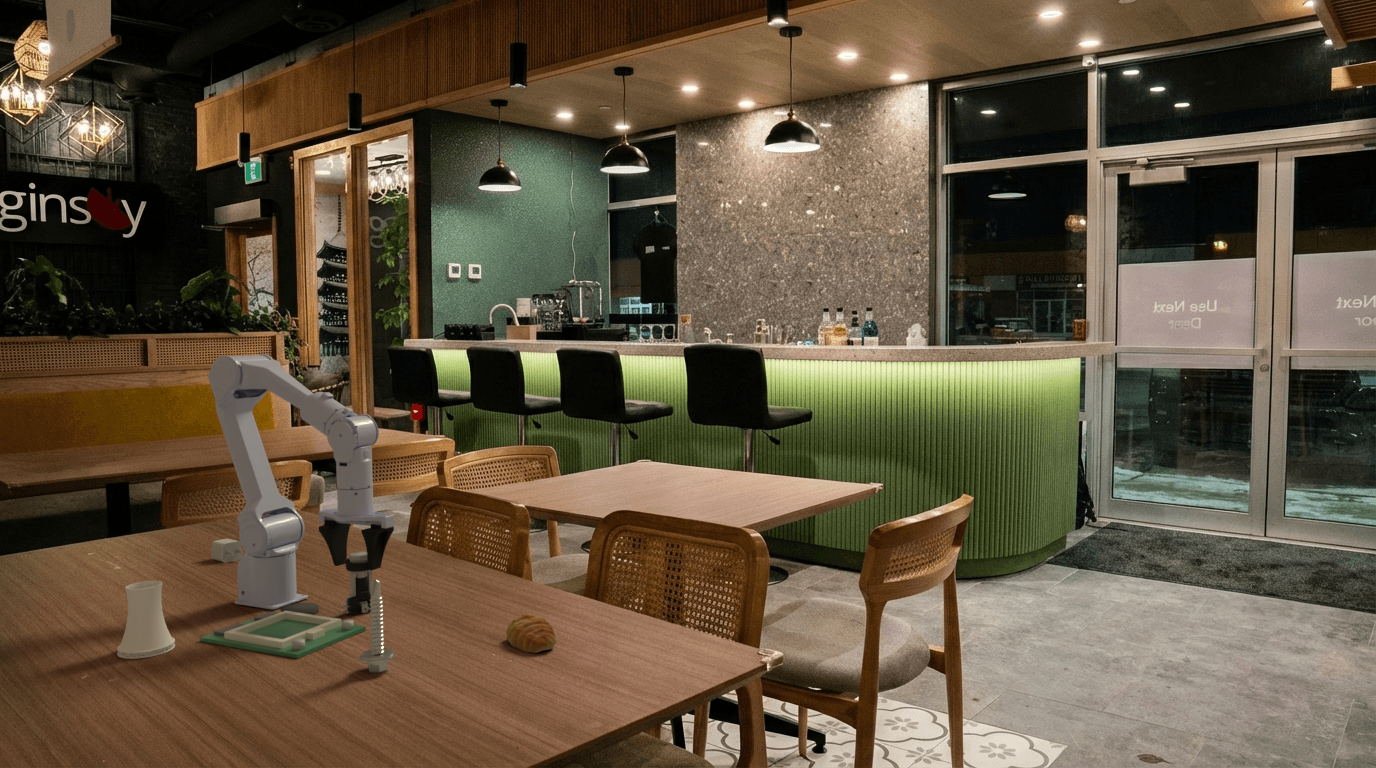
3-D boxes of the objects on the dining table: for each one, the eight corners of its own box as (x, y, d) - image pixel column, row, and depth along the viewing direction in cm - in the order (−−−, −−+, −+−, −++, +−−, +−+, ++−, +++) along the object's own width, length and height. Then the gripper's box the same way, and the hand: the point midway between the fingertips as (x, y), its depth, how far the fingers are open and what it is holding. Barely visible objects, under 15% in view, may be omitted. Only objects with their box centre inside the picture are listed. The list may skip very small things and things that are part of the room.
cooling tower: (115, 662, 136) (112, 594, 135) (119, 646, 143) (116, 582, 142) (174, 653, 140) (172, 587, 139) (175, 639, 146) (173, 575, 146)
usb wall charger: (230, 556, 200) (230, 537, 200) (248, 561, 196) (247, 542, 196) (212, 560, 197) (211, 541, 196) (229, 565, 193) (228, 545, 192)
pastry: (567, 650, 141) (566, 625, 140) (524, 659, 137) (524, 634, 137) (542, 633, 149) (541, 609, 148) (501, 641, 145) (501, 617, 145)
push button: (344, 620, 155) (342, 560, 155) (332, 612, 159) (331, 554, 159) (383, 612, 160) (382, 554, 159) (371, 605, 164) (369, 548, 163)
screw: (403, 667, 133) (375, 678, 129) (380, 661, 136) (352, 671, 132) (400, 577, 132) (372, 585, 128) (377, 572, 135) (349, 580, 131)
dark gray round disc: (272, 617, 158) (272, 610, 158) (300, 608, 163) (300, 601, 163) (299, 622, 156) (299, 614, 155) (326, 612, 161) (326, 605, 161)
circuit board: (200, 641, 145) (199, 629, 145) (272, 615, 158) (272, 605, 158) (297, 658, 137) (297, 646, 137) (365, 630, 150) (365, 619, 150)
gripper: (304, 488, 157) (306, 568, 158) (371, 493, 152) (374, 576, 152) (335, 482, 164) (337, 558, 165) (401, 486, 158) (403, 566, 159)
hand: (357, 566), depth 159 cm, fingers open, 7 cm apart
